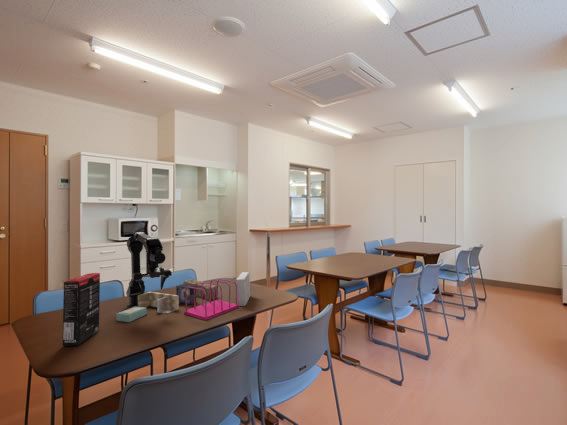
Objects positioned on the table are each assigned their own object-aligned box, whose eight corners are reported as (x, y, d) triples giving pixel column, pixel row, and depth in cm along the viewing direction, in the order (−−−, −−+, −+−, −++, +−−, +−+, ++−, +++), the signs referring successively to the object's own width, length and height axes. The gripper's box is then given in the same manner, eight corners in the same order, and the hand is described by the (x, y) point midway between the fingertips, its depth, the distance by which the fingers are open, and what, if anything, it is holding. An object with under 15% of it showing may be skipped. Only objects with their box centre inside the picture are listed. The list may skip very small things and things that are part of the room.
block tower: (218, 299, 196) (193, 289, 216) (218, 286, 196) (193, 278, 216) (207, 301, 190) (183, 292, 210) (208, 288, 190) (183, 280, 210)
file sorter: (183, 314, 164) (183, 285, 164) (217, 302, 185) (217, 277, 185) (205, 320, 155) (205, 290, 155) (239, 307, 175) (238, 280, 175)
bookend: (157, 312, 167) (157, 299, 167) (166, 308, 174) (166, 296, 174) (167, 314, 165) (167, 301, 165) (176, 310, 171) (176, 297, 171)
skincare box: (242, 296, 199) (241, 271, 199) (250, 296, 199) (250, 271, 199) (236, 306, 178) (235, 279, 178) (245, 306, 178) (245, 279, 178)
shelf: (137, 309, 173) (137, 295, 173) (149, 305, 180) (149, 291, 180) (167, 314, 164) (167, 299, 164) (178, 309, 172) (178, 295, 172)
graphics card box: (85, 331, 142) (85, 272, 142) (101, 330, 142) (100, 272, 142) (62, 347, 125) (61, 281, 125) (79, 346, 125) (79, 280, 125)
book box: (116, 321, 155) (116, 313, 155) (134, 313, 167) (134, 306, 167) (128, 322, 153) (128, 314, 153) (146, 315, 164) (146, 307, 164)
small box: (175, 303, 184) (175, 285, 184) (182, 300, 190) (182, 283, 190) (189, 305, 180) (189, 287, 180) (196, 301, 186) (196, 284, 186)
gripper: (135, 265, 150) (135, 297, 150) (174, 261, 160) (174, 291, 161) (131, 262, 159) (131, 292, 159) (168, 259, 169) (168, 286, 170)
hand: (152, 290), depth 162 cm, fingers open, 9 cm apart
